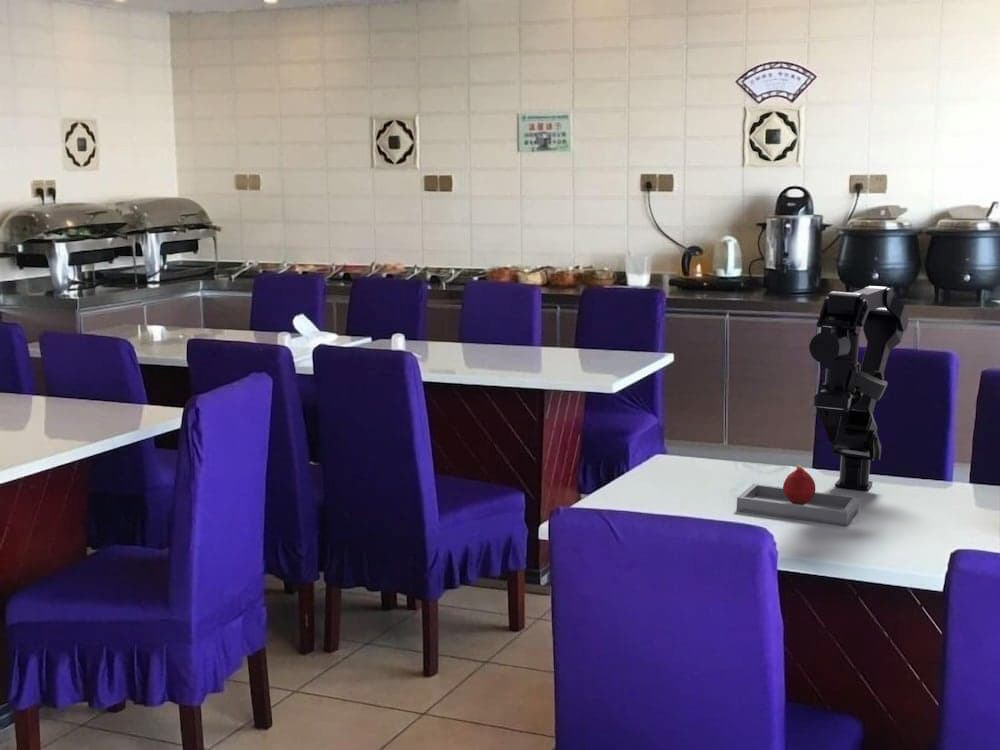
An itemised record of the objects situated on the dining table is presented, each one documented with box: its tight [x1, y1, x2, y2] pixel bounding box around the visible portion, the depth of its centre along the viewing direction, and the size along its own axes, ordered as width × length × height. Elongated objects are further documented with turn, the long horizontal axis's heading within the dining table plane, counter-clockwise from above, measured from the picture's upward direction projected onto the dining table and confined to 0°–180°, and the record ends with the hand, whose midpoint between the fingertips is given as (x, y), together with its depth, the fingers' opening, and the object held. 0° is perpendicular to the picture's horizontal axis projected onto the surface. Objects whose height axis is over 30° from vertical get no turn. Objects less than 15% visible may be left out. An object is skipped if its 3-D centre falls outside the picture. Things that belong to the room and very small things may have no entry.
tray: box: [736, 483, 860, 527], centre depth 225 cm, size 12×20×2 cm, turn 64°
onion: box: [782, 464, 816, 505], centre depth 225 cm, size 6×6×8 cm
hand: (836, 437), depth 233 cm, fingers open, 9 cm apart
